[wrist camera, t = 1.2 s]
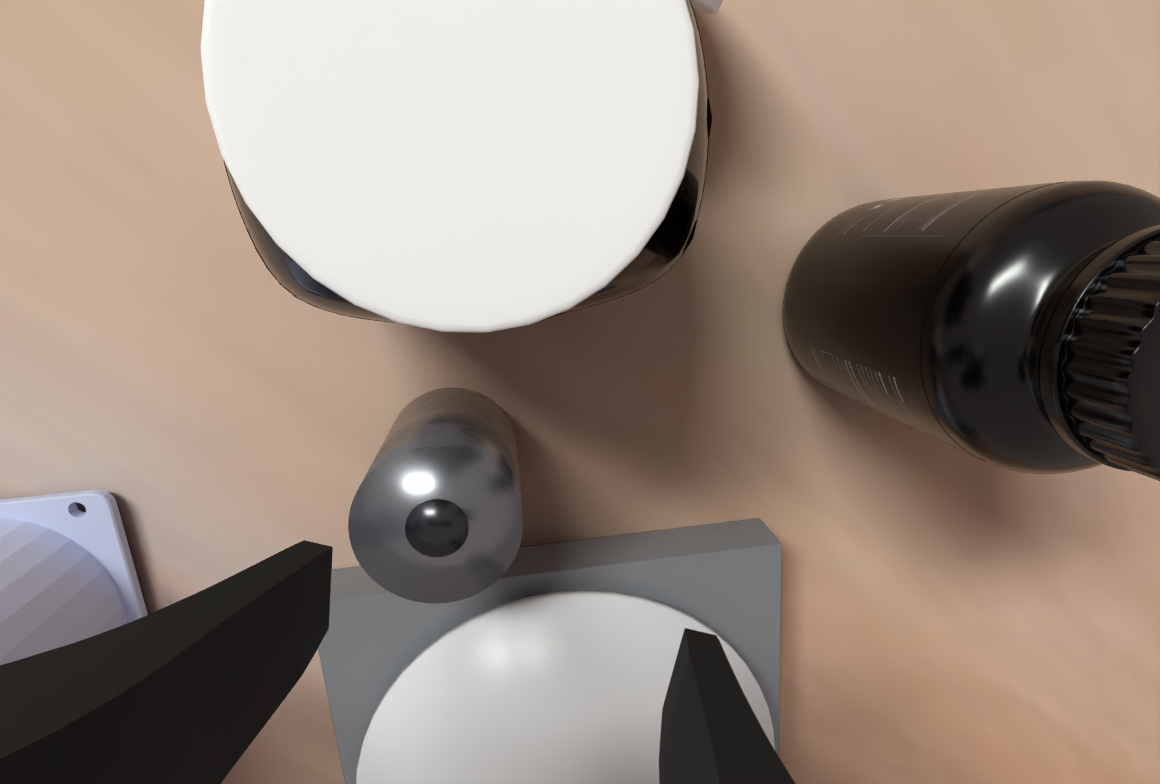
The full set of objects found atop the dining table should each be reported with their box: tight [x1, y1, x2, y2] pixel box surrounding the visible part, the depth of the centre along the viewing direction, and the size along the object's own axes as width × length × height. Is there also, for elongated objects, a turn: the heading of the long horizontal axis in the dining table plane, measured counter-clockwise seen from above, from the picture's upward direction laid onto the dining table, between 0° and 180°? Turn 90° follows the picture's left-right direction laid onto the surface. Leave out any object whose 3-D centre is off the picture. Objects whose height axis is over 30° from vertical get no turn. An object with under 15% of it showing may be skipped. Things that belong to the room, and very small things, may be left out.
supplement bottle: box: [783, 181, 1160, 481], centre depth 17 cm, size 7×7×12 cm
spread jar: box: [201, 0, 723, 333], centre depth 14 cm, size 12×11×12 cm
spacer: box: [348, 388, 523, 604], centre depth 19 cm, size 4×4×6 cm
